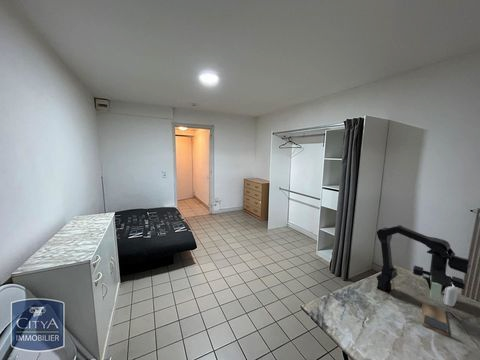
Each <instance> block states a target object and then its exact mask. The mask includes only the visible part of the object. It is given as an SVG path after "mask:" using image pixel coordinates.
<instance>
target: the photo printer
mask: <svg viewBox="0 0 480 360" xmlns="http://www.w3.org/2000/svg"><path fill="white" fill-rule="evenodd" d="M458 293H459V288H457V287H455V286H454V285H453V283H452V287H450V286H449V287H447V288H445V289H444V296H443V303H444V305H446V306H448V307H454V306H455V305H456V302H457V301H458V300H457V299H458Z"/></svg>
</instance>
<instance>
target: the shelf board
mask: <svg viewBox="0 0 480 360" xmlns="http://www.w3.org/2000/svg"><path fill="white" fill-rule="evenodd" d="M425 315H427V316H429V317H432V318H434V319H437V320H439V321H442V322H444V323H447V324H448V322H447V315H446V310H445V309H444V308H443V307H442V308H441V307H439V306H437V305H434V304H431V303H428V302H426V301H423V300H422V301H421V325H422V326H423V327H425V328H427V329H430V330H432V331H434V332H436V333H439V334H441V335H442V336H443V335H444V336H445V337H449V329H447V333H446V332H444V331H441V330H439V329H437V328H434V327H432V326H430V325H427V324H425V323H424V316H425Z"/></svg>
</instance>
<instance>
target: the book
mask: <svg viewBox="0 0 480 360" xmlns="http://www.w3.org/2000/svg"><path fill="white" fill-rule="evenodd" d="M441 288H442V285H441V284H438V283H434V282H432V281H431V290H430V289H429V299H431V300H432V301H433V300H434V301H436V302H438V303H440V302H441V295H442V293H441Z"/></svg>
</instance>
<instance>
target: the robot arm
mask: <svg viewBox="0 0 480 360" xmlns="http://www.w3.org/2000/svg"><path fill="white" fill-rule="evenodd" d="M396 234H399V235H402V236H404V237H407V238H409V239H411V240H413V241H416V242H418V243H421V244H423V245H424V246H425V247H427V248H428V250H427V251H426V253H427V254H430V255H431V258H430V266H429V267H430V268H429V271H427V270H424V267H421V266H418V265H413V268H412V269H413V271H412V274H413V275H416V276H419V277H422V279H424V280H425V281H426V283H427V286H428V289H429V291H430V290H431V281H432V282H434V283H438V284H441V285H442V288H441V294H442V293H443V292H445V289H446V288H447V287H449V286H450V287H452V283H453V285H454V286H455V287H457V288H458V289H461V290H465V288H466V284H465V280H464V279H462V278H460V277H457V276H453V275H452V276H449V275H447V273H446V272H447V268H448V267H449V269H452V270H453V271H458V272H461V273H464V274H466V275H469V274H470V272H471V267H472V265H471V259H469V258H464V257H461V256H460V257H459V256H456V253H455V252H454V250H453V249H452V248H451V244H450V242H448V241H447V240H445V239H442V238H439V237H434V236H433V237H432V236H427V235H425V234H422V233H419V232H417V231H414V230H411V229H410V228H407V227H404V226H402V225H400V224H398V225H395V226H391V227H382V228H379V229H378V230H377V231H376V235H377V239H378V240H379V242H380V245H381V257H382V268H381V270H380V271H381V273H379V274H378V275H376V280H377V284H376V285H377V286H376V289H377V290H380V291H382V292H385V293H388V294H390V293H391V291H392V285H393V283H392V282H391V281H392V280H394V279H395V278H397V276H398V271H397V270H398V268H396V267H394V266H393V260H392V250H391V249H392V248H391V241H392V237H393V235H396ZM447 266H448V267H447Z"/></svg>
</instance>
